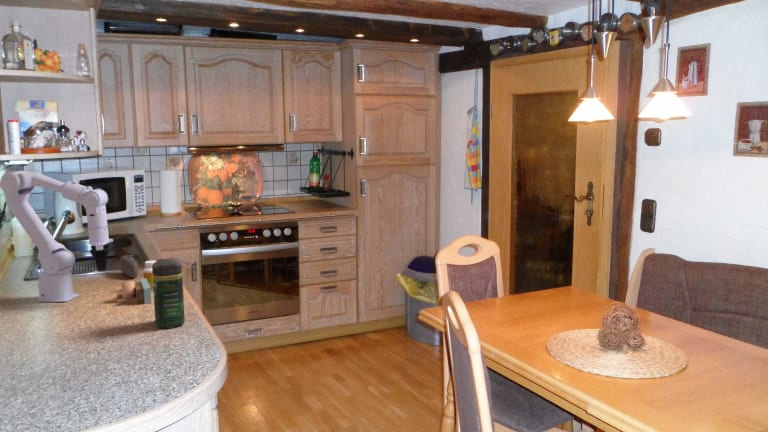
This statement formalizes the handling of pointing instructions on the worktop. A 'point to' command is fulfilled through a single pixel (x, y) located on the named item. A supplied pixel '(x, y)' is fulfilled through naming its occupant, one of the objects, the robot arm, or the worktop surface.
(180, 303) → the coffee jar
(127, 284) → the pink egg shape
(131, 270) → the perforated stone tool
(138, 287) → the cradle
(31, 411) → the worktop surface
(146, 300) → the backstop board
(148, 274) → the supplement bottle
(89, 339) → the worktop surface
